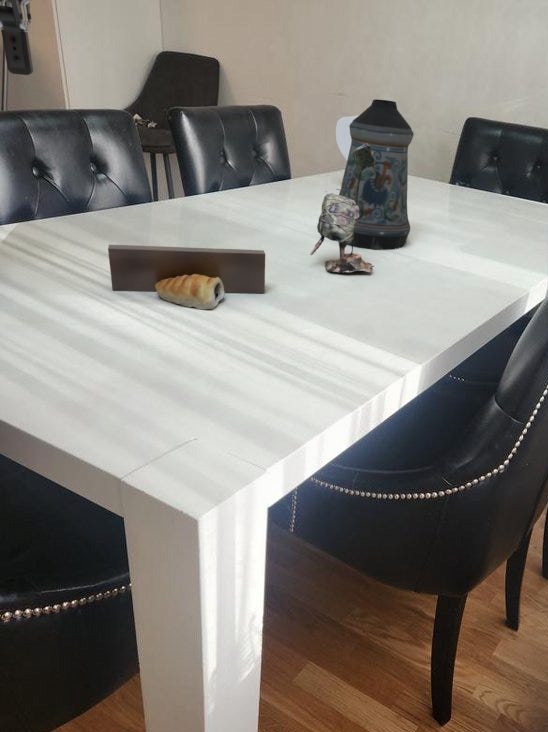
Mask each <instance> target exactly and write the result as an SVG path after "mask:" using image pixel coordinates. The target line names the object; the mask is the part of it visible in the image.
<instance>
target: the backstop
mask: <svg viewBox="0 0 548 732" xmlns="http://www.w3.org/2000/svg"><path fill="white" fill-rule="evenodd" d="M107 251H108V253H107V254H108V260H109V261H108V263H109V269H110V280H111V287H112V291H113V292H114V291H115V292H116V291H118V292H119V291H120V292H121V291H122V292H157V290H156V288H155V284H156V283H158V282H160V281H161V280H164V279H169V278H176V277H177V276H183V275H189V276H190V275H193V274H197V275H204V276H207V277H210V278H216V277H219V278H220V279H221V281H222V284H223V288H224V292H225V294H265V293H266V292H265V291H266V289H265V288H266V287H265V286H266V253H265V250H264V249H240V248H239V249H237V248H216V247H215V248H212V247H211V248H210V247H186V246H184V247H183V246H160V245H159V246H158V245H136V244H135V245H134V244H133V245H132V244H130V245H129V244H108V246H107Z"/></svg>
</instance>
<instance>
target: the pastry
mask: <svg viewBox="0 0 548 732" xmlns="http://www.w3.org/2000/svg"><path fill="white" fill-rule="evenodd" d="M155 288H156V290H157V291H156V292H157V294H158V296H159V298H162V299H163V300H165V301H166V302H169V303H174V304H175V305H181V306H182V307H187V308H192V307H193V308H196V309H198V310H214V309H215V308H216V307H217V306H218V304H219V302H220V301H221V300H222V299H223V298H224V297H225V295H226V293H225V292H224V288H223V284H222V281H221V279H220V278H219V277H216V278H210V277H207V276H204V275H197V274H193V275H190V276H189V275H183V276H177V277H176V278H169V279H164V280H161V281H160V282H158V283H156V284H155Z"/></svg>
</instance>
